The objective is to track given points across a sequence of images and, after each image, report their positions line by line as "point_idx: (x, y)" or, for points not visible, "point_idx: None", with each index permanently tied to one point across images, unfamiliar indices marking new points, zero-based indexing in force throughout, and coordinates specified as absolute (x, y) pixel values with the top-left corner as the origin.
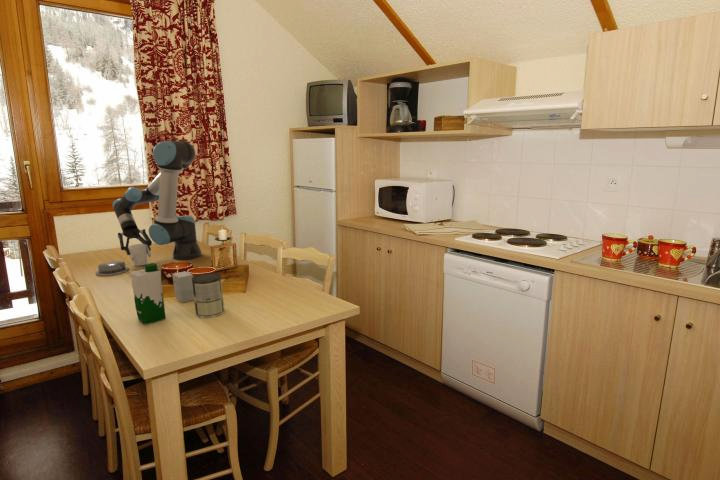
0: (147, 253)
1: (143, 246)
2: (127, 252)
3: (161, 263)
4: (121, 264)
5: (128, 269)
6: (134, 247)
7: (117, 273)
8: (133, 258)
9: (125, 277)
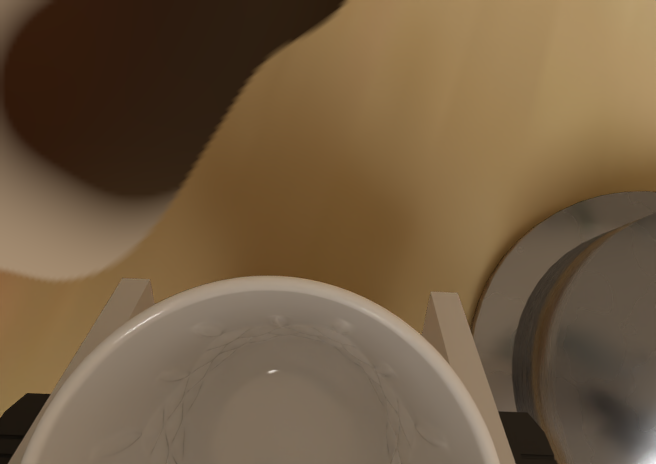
0: None
1: (178, 295)
2: (545, 445)
3: (64, 291)
4: (626, 228)
5: (494, 274)
6: (421, 335)
7: (638, 193)
8: (430, 315)
9: (584, 10)
